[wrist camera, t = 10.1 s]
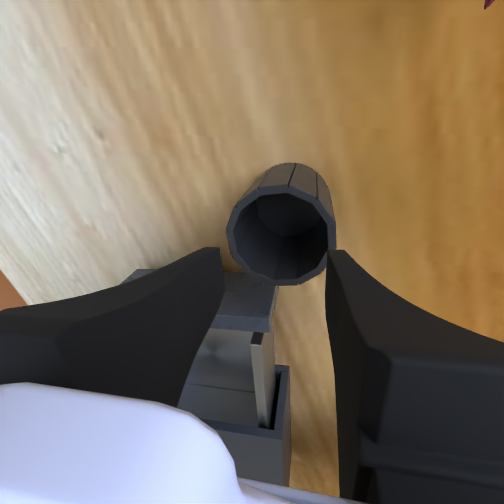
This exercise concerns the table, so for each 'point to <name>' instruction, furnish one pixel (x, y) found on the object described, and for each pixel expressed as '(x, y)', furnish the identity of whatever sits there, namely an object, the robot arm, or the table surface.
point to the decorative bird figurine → (488, 3)
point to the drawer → (235, 357)
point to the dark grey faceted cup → (283, 226)
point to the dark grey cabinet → (262, 440)
